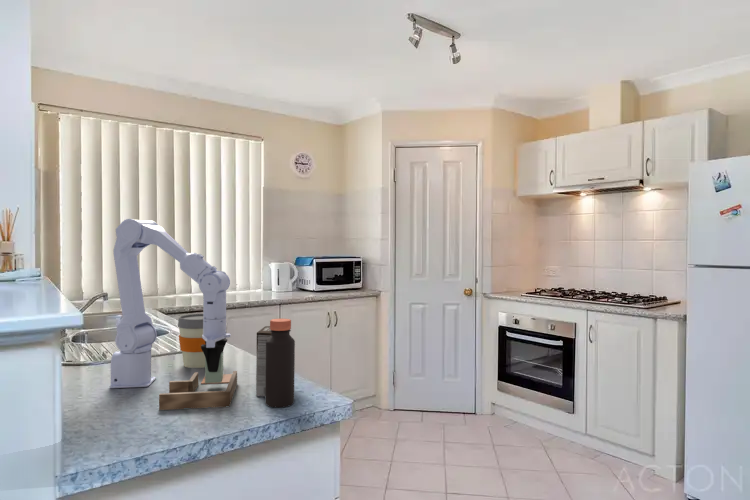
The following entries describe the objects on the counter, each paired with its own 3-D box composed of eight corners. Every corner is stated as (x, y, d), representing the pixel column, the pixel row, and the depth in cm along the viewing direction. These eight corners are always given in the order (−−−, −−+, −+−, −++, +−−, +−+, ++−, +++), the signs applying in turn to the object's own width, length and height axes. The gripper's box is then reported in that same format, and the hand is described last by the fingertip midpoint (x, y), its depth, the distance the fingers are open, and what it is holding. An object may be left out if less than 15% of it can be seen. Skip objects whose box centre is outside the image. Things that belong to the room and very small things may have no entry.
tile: (200, 384, 131) (200, 383, 131) (205, 376, 139) (205, 375, 139) (231, 382, 132) (231, 381, 132) (234, 374, 140) (234, 373, 140)
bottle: (259, 406, 114) (260, 321, 114) (275, 397, 120) (276, 317, 120) (284, 409, 112) (285, 323, 111) (299, 400, 118) (300, 318, 118)
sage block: (205, 383, 125) (205, 356, 125) (207, 378, 129) (207, 352, 129) (221, 382, 126) (221, 355, 126) (223, 378, 130) (223, 352, 130)
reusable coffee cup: (220, 358, 160) (220, 312, 159) (220, 368, 148) (220, 318, 147) (178, 361, 156) (179, 314, 155) (176, 371, 144) (176, 320, 143)
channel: (159, 410, 110) (159, 394, 110) (176, 386, 129) (176, 373, 129) (229, 406, 113) (229, 391, 113) (237, 383, 132) (237, 370, 132)
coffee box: (264, 385, 130) (264, 325, 130) (288, 386, 130) (288, 326, 130) (254, 396, 121) (255, 332, 121) (280, 397, 121) (281, 332, 121)
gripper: (227, 322, 121) (226, 376, 121) (233, 313, 135) (233, 362, 135) (197, 322, 120) (197, 377, 120) (206, 313, 134) (206, 362, 134)
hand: (214, 369), depth 128 cm, fingers closed on sage block, 4 cm apart
